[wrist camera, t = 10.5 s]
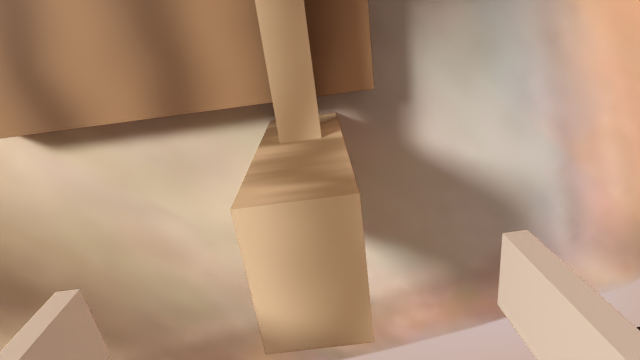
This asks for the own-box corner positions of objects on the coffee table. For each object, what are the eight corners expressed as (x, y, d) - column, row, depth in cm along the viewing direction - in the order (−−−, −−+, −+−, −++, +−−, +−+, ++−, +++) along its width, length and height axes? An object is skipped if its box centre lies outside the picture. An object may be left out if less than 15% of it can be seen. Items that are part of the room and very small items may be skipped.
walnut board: (4, 130, 22) (-33, 143, 20) (-74, -39, 19) (-130, -49, 17) (367, 82, 22) (374, 89, 19) (353, -102, 18) (359, -122, 16)
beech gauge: (286, 208, 25) (265, 354, 14) (235, -73, 19) (125, -221, 8) (345, 201, 25) (374, 342, 14) (313, -84, 19) (317, -251, 8)
